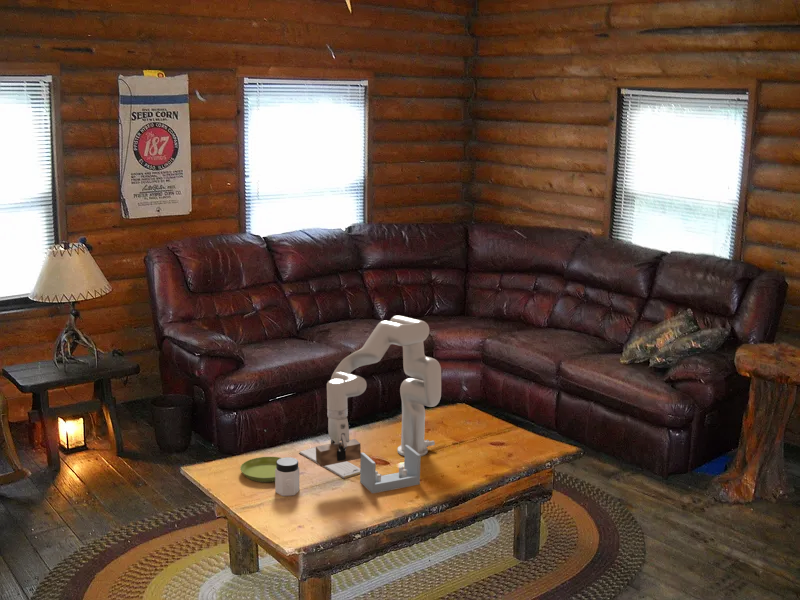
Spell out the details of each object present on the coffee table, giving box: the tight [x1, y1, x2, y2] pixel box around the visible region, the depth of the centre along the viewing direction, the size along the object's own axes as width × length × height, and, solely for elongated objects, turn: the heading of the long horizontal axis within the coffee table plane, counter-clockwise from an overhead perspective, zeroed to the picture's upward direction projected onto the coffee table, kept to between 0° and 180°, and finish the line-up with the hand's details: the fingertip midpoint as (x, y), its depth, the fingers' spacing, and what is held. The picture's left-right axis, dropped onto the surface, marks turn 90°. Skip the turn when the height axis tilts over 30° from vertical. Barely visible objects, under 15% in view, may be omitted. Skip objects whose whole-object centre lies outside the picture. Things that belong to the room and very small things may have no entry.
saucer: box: [239, 456, 281, 483], centre depth 356 cm, size 21×21×3 cm
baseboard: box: [299, 446, 360, 480], centre depth 369 cm, size 31×3×12 cm
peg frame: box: [359, 445, 422, 494], centre depth 349 cm, size 20×11×12 cm, turn 116°
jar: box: [274, 456, 300, 497], centre depth 340 cm, size 9×8×12 cm
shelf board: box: [315, 438, 362, 468], centre depth 344 cm, size 16×5×6 cm, turn 116°
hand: (338, 456), depth 344 cm, fingers closed on shelf board, 5 cm apart
